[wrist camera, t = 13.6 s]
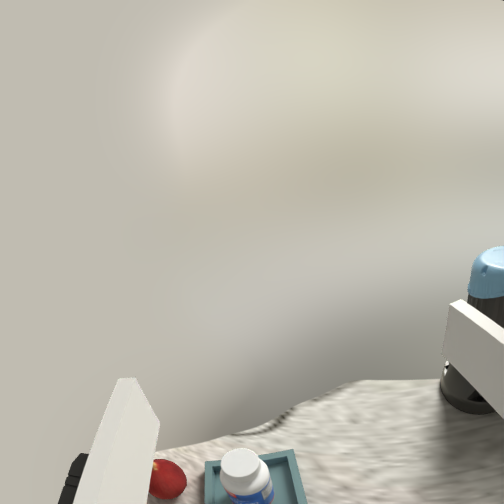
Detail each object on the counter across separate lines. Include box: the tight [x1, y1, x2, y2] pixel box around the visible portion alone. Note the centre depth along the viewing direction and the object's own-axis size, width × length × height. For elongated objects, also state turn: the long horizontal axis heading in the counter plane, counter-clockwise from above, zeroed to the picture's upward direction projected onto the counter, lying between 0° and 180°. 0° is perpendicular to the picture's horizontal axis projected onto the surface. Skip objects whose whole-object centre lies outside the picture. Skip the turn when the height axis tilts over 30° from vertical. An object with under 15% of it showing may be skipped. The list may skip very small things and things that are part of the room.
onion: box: [148, 459, 187, 499], centre depth 27 cm, size 6×6×8 cm
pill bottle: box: [220, 448, 274, 504], centre depth 25 cm, size 6×5×10 cm
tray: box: [205, 449, 307, 504], centre depth 27 cm, size 12×12×2 cm
